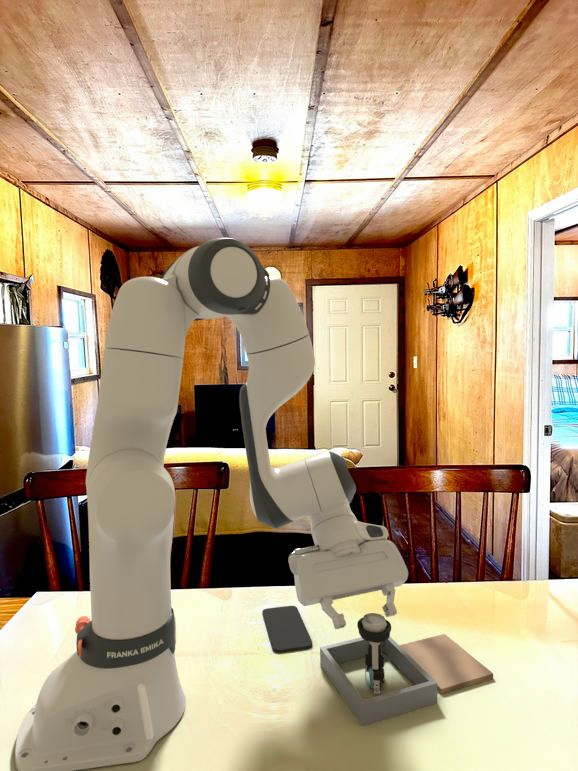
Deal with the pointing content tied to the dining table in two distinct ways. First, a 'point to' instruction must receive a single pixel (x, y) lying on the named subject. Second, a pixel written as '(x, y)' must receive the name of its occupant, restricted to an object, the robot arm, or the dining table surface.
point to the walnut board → (447, 663)
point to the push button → (374, 646)
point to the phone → (286, 629)
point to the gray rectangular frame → (386, 703)
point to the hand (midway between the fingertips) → (366, 621)
